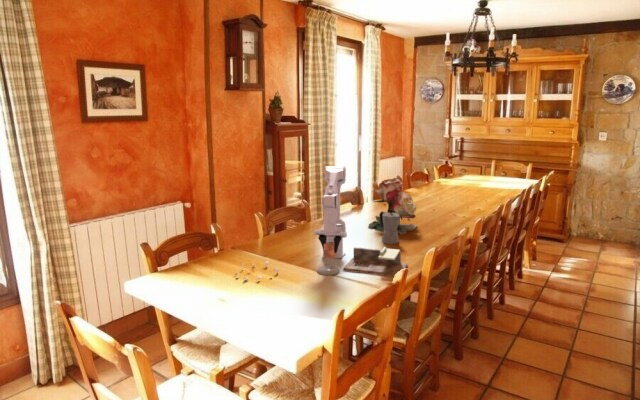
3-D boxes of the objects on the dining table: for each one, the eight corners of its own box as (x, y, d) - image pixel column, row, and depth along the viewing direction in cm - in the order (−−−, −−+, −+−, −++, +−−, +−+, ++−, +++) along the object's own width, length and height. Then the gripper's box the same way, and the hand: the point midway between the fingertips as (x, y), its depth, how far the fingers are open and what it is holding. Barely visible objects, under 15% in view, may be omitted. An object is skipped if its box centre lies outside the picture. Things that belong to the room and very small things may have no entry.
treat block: (323, 257, 202) (323, 244, 201) (327, 254, 206) (327, 241, 205) (333, 258, 200) (333, 245, 199) (336, 255, 205) (336, 242, 203)
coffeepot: (405, 243, 245) (406, 210, 241) (392, 246, 240) (392, 212, 236) (386, 236, 257) (386, 205, 254) (373, 239, 252) (373, 207, 249)
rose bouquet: (408, 236, 258) (409, 183, 252) (363, 228, 275) (364, 179, 270) (427, 226, 278) (429, 177, 272) (384, 220, 295) (385, 174, 290)
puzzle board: (343, 270, 205) (343, 256, 204) (352, 260, 219) (352, 246, 218) (401, 277, 196) (401, 262, 195) (407, 265, 210) (407, 252, 209)
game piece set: (257, 264, 216) (257, 256, 215) (288, 273, 204) (288, 265, 203) (225, 276, 201) (224, 267, 201) (256, 286, 189) (255, 277, 188)
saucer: (314, 273, 202) (314, 271, 201) (321, 266, 211) (321, 264, 211) (335, 276, 198) (335, 274, 198) (342, 268, 207) (342, 266, 207)
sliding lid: (378, 258, 200) (378, 253, 199) (384, 249, 212) (384, 245, 211) (394, 260, 198) (394, 255, 197) (399, 251, 209) (399, 246, 209)
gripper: (311, 222, 199) (311, 252, 202) (343, 225, 194) (343, 255, 197) (316, 219, 205) (317, 248, 208) (348, 221, 201) (348, 251, 203)
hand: (330, 251), depth 203 cm, fingers closed on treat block, 4 cm apart
